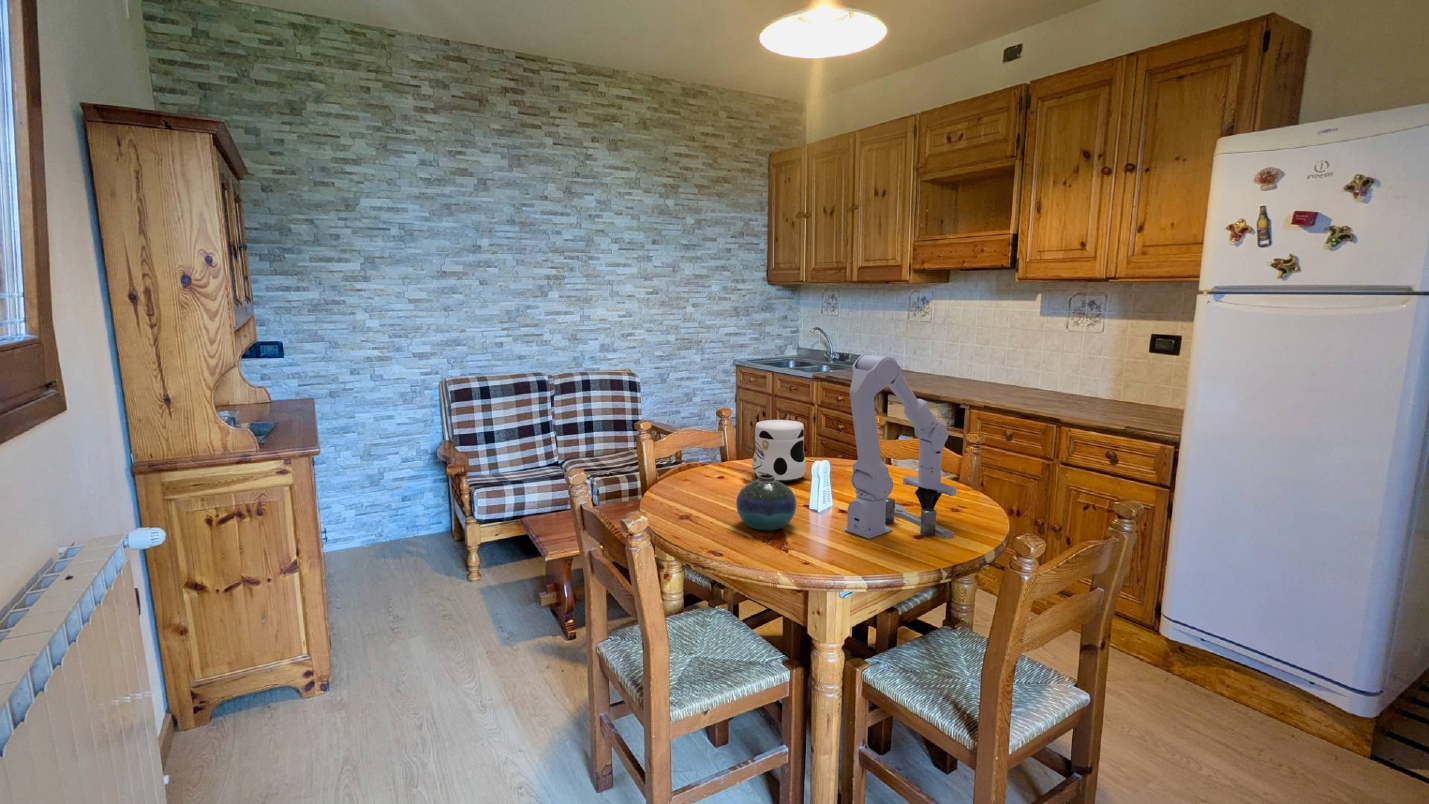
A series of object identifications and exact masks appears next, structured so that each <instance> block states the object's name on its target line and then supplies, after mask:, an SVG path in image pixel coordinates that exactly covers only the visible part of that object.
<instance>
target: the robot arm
mask: <svg viewBox="0 0 1429 804" xmlns="http://www.w3.org/2000/svg"><path fill="white" fill-rule="evenodd" d="M851 369H852V380H851V383H850V388H849V400H850V407H851V414H852V415H851V416H852V423H853V429H854V437H855V446H856V451H857V452H856V453H857V460H856V461H855V462H854V463H853V464H852V465H851V466H852V474H851V477H850V481H851V485H852V487H853V488H854V489H855V491H854V493H855V494H856V496H855V498H854V499H853V500H852V501H850V503H848V506H847V519H846V520H847V521H846V527H844V531H846V532H849V533H852V534H855V535H857V536H861V537H863V538H866V539H873V538H875V537H878V536H880V535H883V534H886V533H888V532H891V531H893V527H892V528H891V527H890V526H886V524H885V514H886V499H888V498H889V496H890V495H891V493H892V491H893V489H894V480H893V478H892V477H891V474H890V472H889V468H888V466H887V464H886V463H885V462H884V461H883V458H882V456H881V448H880V447H881V446H880V440H879V432H878V424H877V415H876V407H875V396H876V395H878V393H880V392H881V391H882V390H884V388H886V387H887V386H888V388H889V389H890V390H891V391H892V392H893V394H894V396H896V398H897V399H898V400H899V401H900V402H901V403H902V405H903V406H904V408H903V414H904V415H905V417H906V418H907V419H908V421H909V422H910V423H911V425H912V426H913V428H914V435H915V438H917V439H918V440H919V444H918V445H919V447H918V448H919V449H918V450H919V451H918V468H917V477H912V476H909V475H908V476H905V477H904V476H903V477H902V485H904V486H911V487H915V488H917V489H916V490H914V493H915V495H916V497H917V499H918V502H919V504H920V508H921V510H922V509H933V510H935V508H936V504H937V502H939V501H938V500H939V499H940V497H941V496H942V494H944V495H948V497H954V496H957V487H954V486H951V485H949V484H946V483H943V482H942V466H943V465H942V463H943V451H944V449H945V444H946V442H947V440H948V439H949V435H950V433H949V432H948V429H947V427H946V425H945V424H944V423H943V422H939V421H938V418H937V416H936V414H934V413H933V412H932V410H931V409H930V408H929V403H928V402H927V401H926V400H924V399H922V398H917V396H916V395H915V394H914V392H913V390H912V388H911V387H910V386H909V384H908V382H907V380H906V379H905V377H904V375H903V373H902V367H901V366H900V365H899V364H898V362H897V360H896V359H895V358H893V357H891V356H881V355H880V356H879V355H872V354H868V353H865V354H861V355H859V356H858V358H857V359H856V360H855V362H854V363H853V364H852V365H851Z"/></svg>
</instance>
